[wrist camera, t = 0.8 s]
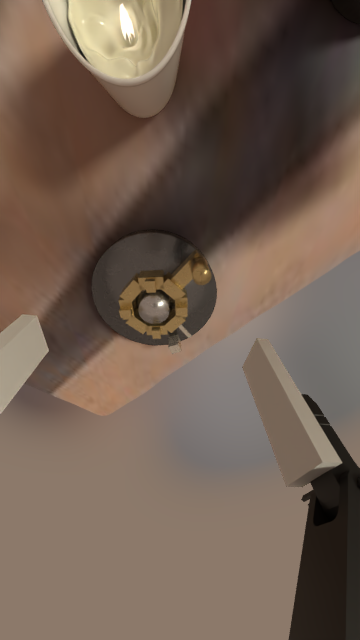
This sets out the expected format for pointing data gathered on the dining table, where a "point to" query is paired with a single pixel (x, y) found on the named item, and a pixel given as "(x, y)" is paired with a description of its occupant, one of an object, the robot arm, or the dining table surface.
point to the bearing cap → (154, 308)
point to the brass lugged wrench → (171, 285)
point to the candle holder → (126, 46)
